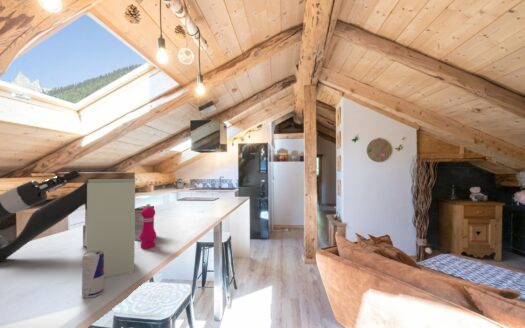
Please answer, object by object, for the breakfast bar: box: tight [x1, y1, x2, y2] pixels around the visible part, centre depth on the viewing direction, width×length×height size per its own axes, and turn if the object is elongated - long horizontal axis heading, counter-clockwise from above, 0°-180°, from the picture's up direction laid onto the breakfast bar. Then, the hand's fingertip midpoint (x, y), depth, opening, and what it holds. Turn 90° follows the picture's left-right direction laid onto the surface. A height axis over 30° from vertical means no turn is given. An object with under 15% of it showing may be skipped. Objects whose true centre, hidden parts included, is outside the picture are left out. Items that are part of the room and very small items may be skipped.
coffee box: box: [135, 205, 155, 241], centre depth 137 cm, size 9×6×16 cm
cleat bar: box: [56, 171, 136, 184], centre depth 92 cm, size 23×4×4 cm, turn 114°
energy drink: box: [81, 251, 105, 299], centre depth 77 cm, size 5×5×12 cm
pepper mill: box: [139, 203, 157, 250], centre depth 122 cm, size 7×7×20 cm
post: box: [86, 179, 136, 278], centre depth 94 cm, size 14×10×33 cm
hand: (79, 172), depth 90 cm, fingers open, 4 cm apart
